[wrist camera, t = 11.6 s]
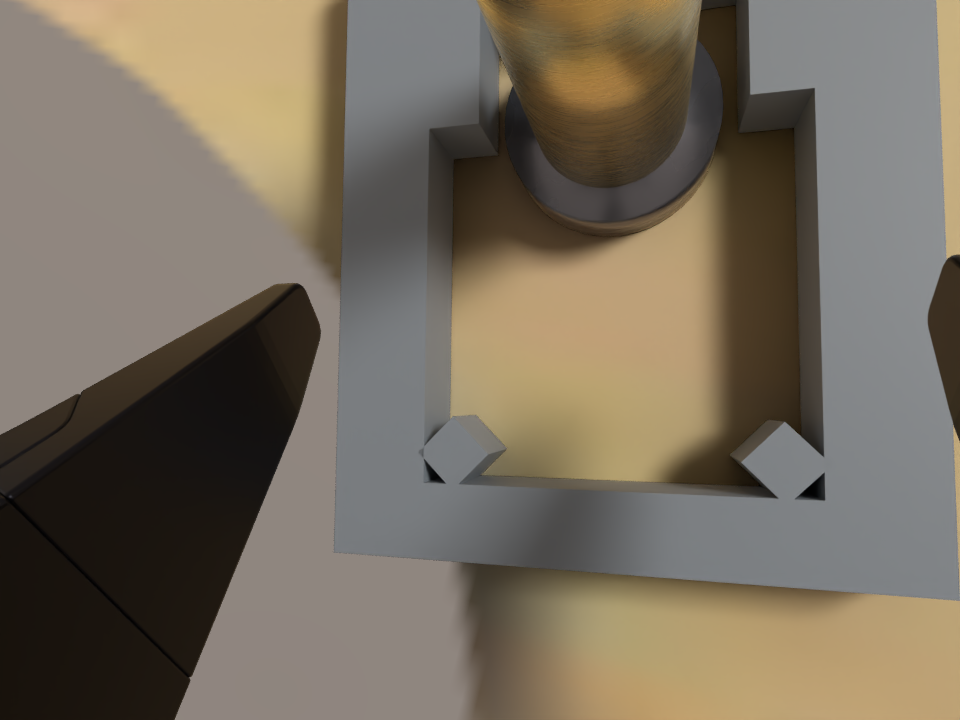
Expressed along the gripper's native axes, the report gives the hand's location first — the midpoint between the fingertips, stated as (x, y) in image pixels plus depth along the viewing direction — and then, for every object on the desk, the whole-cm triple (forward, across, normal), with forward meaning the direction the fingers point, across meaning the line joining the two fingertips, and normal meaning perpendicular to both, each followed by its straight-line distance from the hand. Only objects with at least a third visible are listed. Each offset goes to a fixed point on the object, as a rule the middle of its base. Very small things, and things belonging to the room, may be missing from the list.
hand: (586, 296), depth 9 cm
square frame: (+7, 0, +3) cm, 7 cm away
